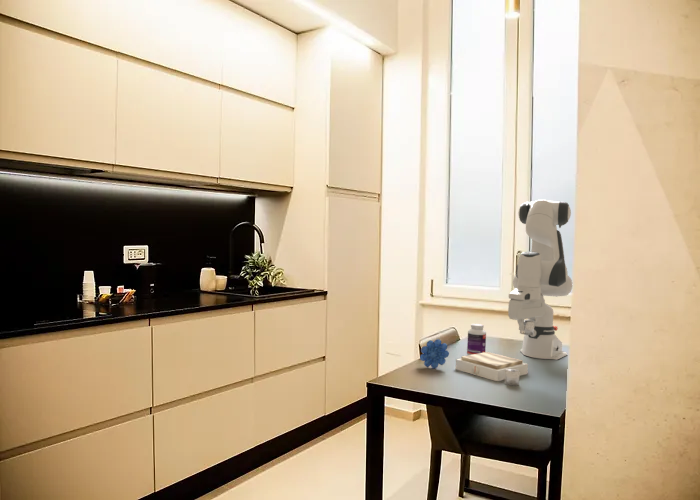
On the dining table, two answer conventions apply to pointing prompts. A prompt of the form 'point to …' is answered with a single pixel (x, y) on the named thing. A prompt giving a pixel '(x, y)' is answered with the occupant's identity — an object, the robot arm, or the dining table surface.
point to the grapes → (434, 353)
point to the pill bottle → (476, 339)
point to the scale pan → (492, 360)
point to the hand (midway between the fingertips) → (526, 329)
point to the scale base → (489, 370)
